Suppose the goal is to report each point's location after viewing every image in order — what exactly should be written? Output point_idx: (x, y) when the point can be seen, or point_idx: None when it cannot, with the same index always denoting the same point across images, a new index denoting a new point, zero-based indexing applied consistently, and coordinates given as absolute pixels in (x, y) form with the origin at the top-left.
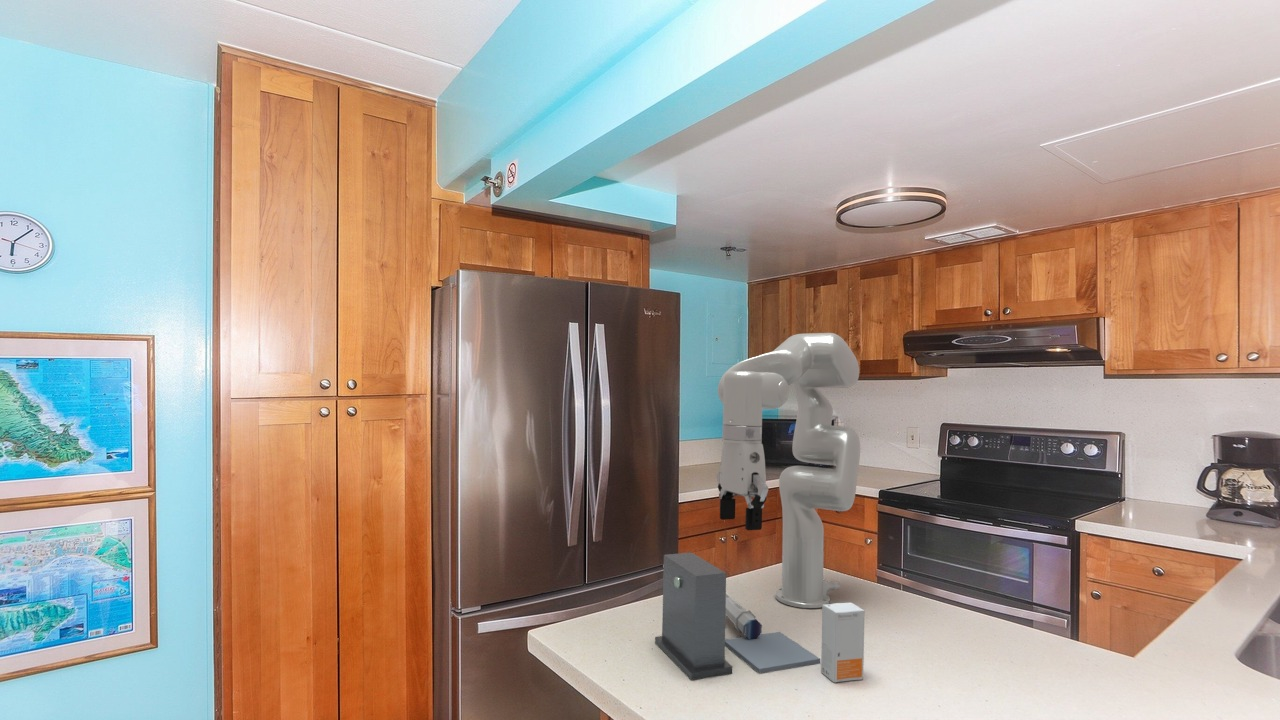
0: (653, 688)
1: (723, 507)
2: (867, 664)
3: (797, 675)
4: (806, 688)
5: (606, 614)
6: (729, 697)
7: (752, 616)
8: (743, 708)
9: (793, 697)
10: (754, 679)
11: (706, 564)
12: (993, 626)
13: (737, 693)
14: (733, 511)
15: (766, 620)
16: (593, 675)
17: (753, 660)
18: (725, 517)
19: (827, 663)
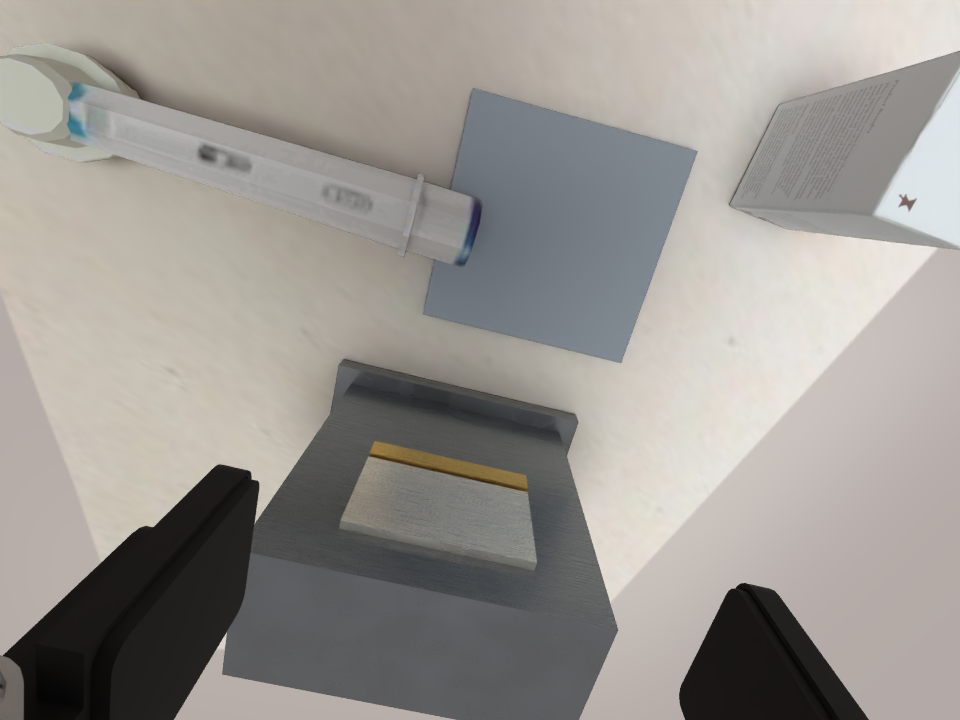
0: None
1: (173, 705)
2: (804, 7)
3: (690, 278)
4: (748, 316)
5: (77, 460)
6: (650, 492)
7: (446, 217)
8: (700, 499)
9: (750, 378)
10: (630, 390)
11: (461, 619)
12: None
13: (649, 468)
14: (215, 542)
15: (338, 9)
16: None
17: (576, 338)
18: (241, 586)
19: (780, 220)
